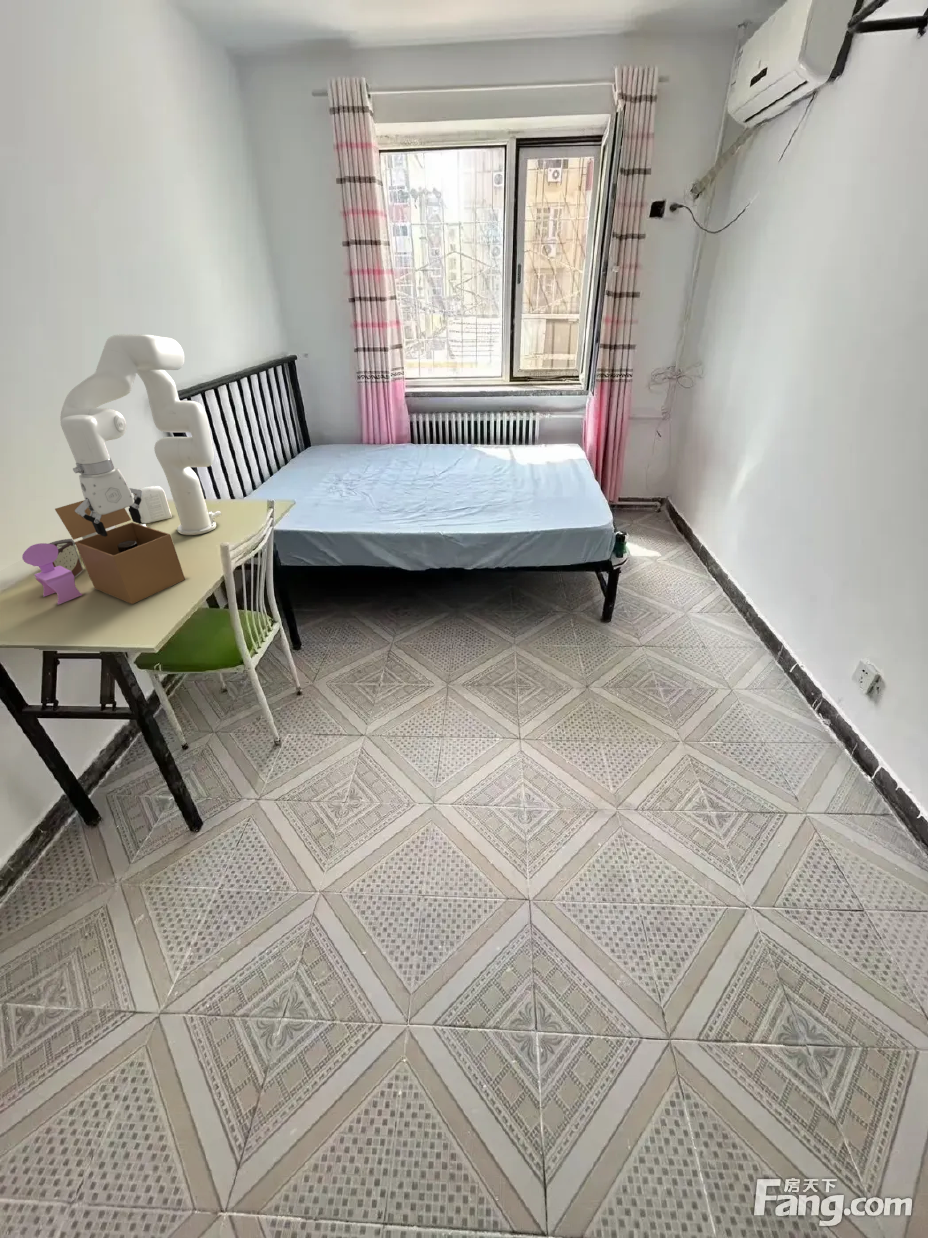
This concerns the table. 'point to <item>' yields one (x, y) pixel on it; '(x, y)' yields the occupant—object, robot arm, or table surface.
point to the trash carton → (131, 562)
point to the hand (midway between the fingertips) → (120, 528)
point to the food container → (67, 556)
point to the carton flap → (84, 527)
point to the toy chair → (51, 572)
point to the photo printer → (153, 505)
